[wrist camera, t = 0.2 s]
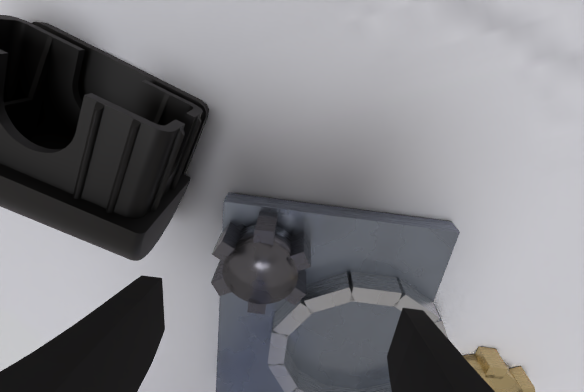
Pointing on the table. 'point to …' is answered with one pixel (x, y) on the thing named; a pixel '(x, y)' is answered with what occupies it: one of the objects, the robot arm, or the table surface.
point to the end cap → (91, 139)
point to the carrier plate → (319, 292)
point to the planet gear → (499, 372)
